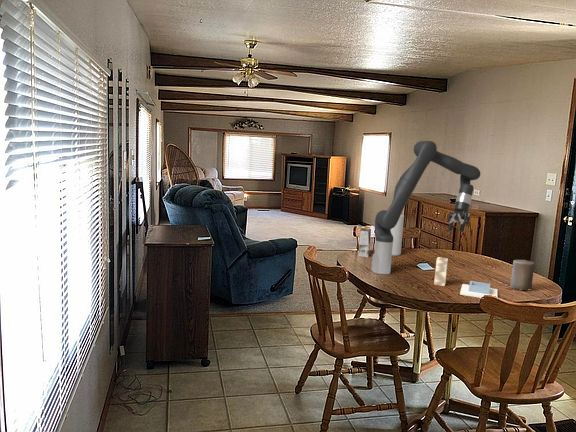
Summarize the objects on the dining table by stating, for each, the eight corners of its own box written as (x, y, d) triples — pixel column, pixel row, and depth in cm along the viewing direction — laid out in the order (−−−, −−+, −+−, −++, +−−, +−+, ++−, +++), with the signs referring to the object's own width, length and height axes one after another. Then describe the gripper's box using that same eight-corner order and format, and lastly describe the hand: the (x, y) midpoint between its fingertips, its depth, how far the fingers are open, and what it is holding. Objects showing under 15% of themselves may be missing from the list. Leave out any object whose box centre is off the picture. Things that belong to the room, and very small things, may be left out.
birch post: (434, 284, 238) (436, 258, 236) (435, 282, 243) (437, 257, 241) (444, 286, 236) (447, 260, 235) (445, 283, 241) (448, 258, 239)
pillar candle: (535, 291, 236) (539, 261, 234) (516, 290, 235) (520, 260, 233) (524, 286, 245) (527, 257, 243) (506, 285, 244) (509, 256, 243)
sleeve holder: (460, 294, 223) (460, 285, 223) (462, 286, 238) (463, 277, 237) (497, 300, 217) (498, 291, 217) (497, 291, 232) (498, 283, 231)
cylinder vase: (396, 251, 312) (399, 213, 309) (403, 256, 300) (407, 216, 297) (377, 251, 310) (381, 213, 306) (384, 255, 298) (388, 216, 294)
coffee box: (368, 257, 291) (370, 231, 289) (358, 256, 292) (360, 230, 290) (369, 254, 300) (371, 229, 298) (358, 253, 301) (360, 228, 299)
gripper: (448, 200, 265) (441, 228, 263) (467, 200, 252) (459, 230, 250) (458, 204, 267) (451, 232, 266) (477, 204, 254) (470, 234, 253)
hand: (455, 231), depth 258 cm, fingers open, 8 cm apart
